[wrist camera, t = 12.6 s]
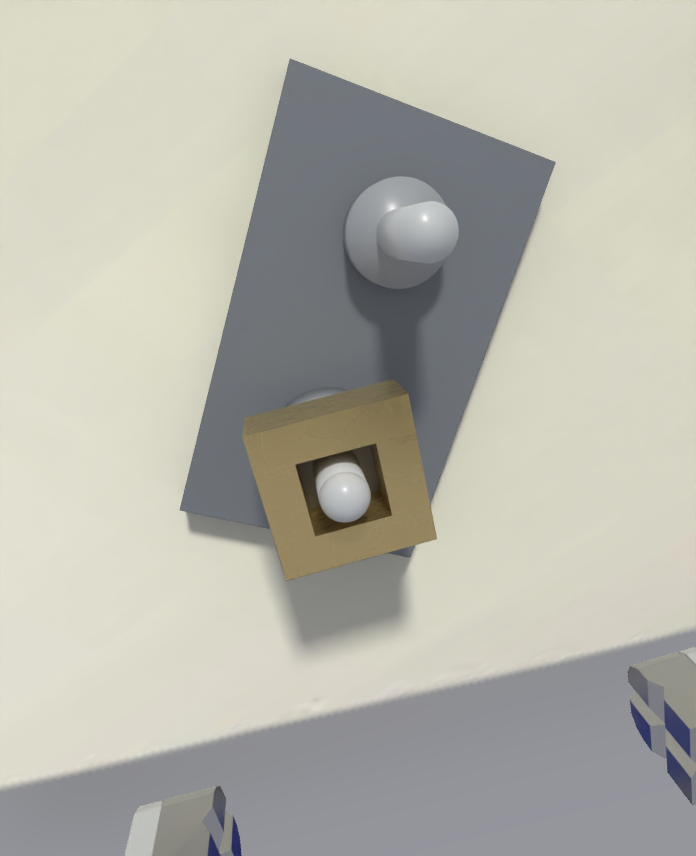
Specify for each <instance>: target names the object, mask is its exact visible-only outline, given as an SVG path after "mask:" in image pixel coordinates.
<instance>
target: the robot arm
mask: <svg viewBox="0 0 696 856" xmlns="http://www.w3.org/2000/svg"><path fill="white" fill-rule="evenodd" d="M628 682H629V683H630V685H631V686H632V687H633V688H634V690H635V692H634V694H633V695H632V697H631V699H630V705H631V713H632V716H633V719H634V722H635V724H636V727H637V729H638V731H639V732H640V735H641V736H642V738H643V740H644V741H645V742H646V744H647V745H648V747H649V748H650V749H651V751H653V752H654V753H656V754H658V755H660V756H662V757H664V758H666V759H667V770H668V773H669V775H670V776H671V777H672V779H673V780H674V782H675V783H676V784H677V785H678V787H679V788H680V789H681V791H682V792H683V793H684V795H685V796H686V797H687V799H688V800H689V801H690V803H691V804H692V805H695V804H696V647H693V648H690V649H686V650H683V651H680V652H678V653H672V654H669V655H665V656H662V657H659V658H655V659H652V660H649V661H645V662H642V663H639V664H636V665H632V666H630V667H629V670H628ZM225 807H226V797H225V795H224V793H223V791H222V789H221V787H220V786H215V787H212V788H208V789H204V790H200V791H196V792H192V793H188V794H185V795H180V796H177V797H173V798H169V799H166V800H163V801H159V802H155V803H152V804H148V805H144V806H140V807H139V808H138V810H137V812H136V813H135V815H134V817H133V822H132V826H131V830H130V834H129V838H128V843H127V847H126V851H125V855H124V856H241V844H240V836H239V832H238V828H237V824H236V822H235V819H234V817H233V815H231V814H229V813H228V812H226V811H225Z"/></svg>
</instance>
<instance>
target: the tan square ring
mask: <svg viewBox="0 0 696 856" xmlns="http://www.w3.org/2000/svg"><path fill="white" fill-rule="evenodd" d="M242 438H243V441H244V444H245V448H246V451H247V454H248V457H249V461H250V464H251V467H252V470H253V474H254V477H255V480H256V483H257V487H258V490H259V493H260V496H261V500H262V503H263V506H264V509H265V513H266V516H267V519H268V522H269V526H270V529H271V532H272V535H273V539H274V542H275V545H276V548H277V552H278V555H279V558H280V561H281V565H282V568H283V571H284V574H285V577H286V581H287V580H291V579H294V578H298V577H302V576H305V575H309V574H312V573H316V572H320V571H323V570H327V569H330V568H334V567H338V566H341V565H345V564H348V563H352V562H356V561H359V560H363V559H367V558H370V557H374V556H377V555H381V554H385V553H388V552H392V551H395V550H399V549H403V548H406V547H410V546H413V545H417V544H421V543H424V542H428V541H431V540H435V539H437V536H436V531H435V526H434V521H433V516H432V511H431V506H430V501H429V496H428V491H427V486H426V481H425V476H424V471H423V466H422V461H421V456H420V451H419V446H418V441H417V436H416V430H415V425H414V420H413V415H412V410H411V405H410V400H409V395H408V393H407V392H406V391H405V390H404V389H403V388H402V387H401V386H400V385H399V384H398V383H397V381H396V380H395V379H391V380H388V381H384V382H380V383H376V384H372V385H368V386H364V387H360V388H357V389H353V390H349V391H345V392H341V393H337V394H333V395H329V396H326V397H322V398H318V399H314V400H310V401H306V402H302V403H299V404H295V405H291V406H287V407H283V408H279V409H275V410H271V411H268V412H264V413H260V414H256V415H252V416H248V417H244V425H243V435H242ZM368 445H370V447H371V452H372V456H373V460H374V465H375V469H376V474H377V478H378V482H379V487H380V490H379V491H376V492H372V493H371V500H370V504H369V507H368V509H367V511H366V512H365V513H364V514H363V515H362V516H361V517H360V518H358V519H357V520H355V521H352V522H338V521H335V520H333V519H331V518H329V517H328V516H327V515H326V514H325V513H324V511H323V510H322V508H321V506H320V507H316V508H313V509H310V506H309V503H308V499H307V495H306V492H305V488H304V485H303V481H302V477H301V474H300V470H299V467H298V464H300V463H303V462H307V461H311V460H315V459H318V458H322V457H326V456H330V455H334V454H337V453H341V452H345V451H349V450H352V449H356V448H360V447H364V446H368Z"/></svg>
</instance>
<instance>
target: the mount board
mask: <svg viewBox="0 0 696 856" xmlns="http://www.w3.org/2000/svg"><path fill="white" fill-rule="evenodd" d="M555 163H556V162H554V161H551V160H549V159H546V158H544V157H541V156H539V155H536V154H533V153H531V152H528V151H526V150H523V149H521V148H518V147H516V146H513V145H510V144H508V143H505V142H503V141H500V140H498V139H495V138H492V137H490V136H487V135H485V134H482V133H480V132H477V131H475V130H472V129H469V128H467V127H464V126H462V125H459V124H457V123H454V122H451V121H449V120H446V119H444V118H441V117H439V116H436V115H434V114H431V113H428V112H426V111H423V110H421V109H418V108H416V107H413V106H410V105H408V104H405V103H403V102H400V101H398V100H395V99H393V98H390V97H387V96H385V95H382V94H380V93H377V92H375V91H372V90H369V89H367V88H364V87H362V86H359V85H357V84H354V83H351V82H349V81H346V80H344V79H341V78H339V77H336V76H334V75H331V74H328V73H326V72H323V71H321V70H318V69H316V68H313V67H310V66H308V65H305V64H303V63H300V62H298V61H295V60H293V59H290V60H289V64H288V68H287V72H286V77H285V81H284V85H283V89H282V93H281V97H280V101H279V105H278V109H277V113H276V117H275V122H274V126H273V130H272V134H271V138H270V142H269V146H268V150H267V154H266V158H265V163H264V167H263V171H262V175H261V179H260V183H259V187H258V191H257V195H256V199H255V203H254V208H253V212H252V216H251V220H250V224H249V228H248V232H247V236H246V240H245V244H244V249H243V253H242V257H241V261H240V265H239V269H238V273H237V277H236V281H235V285H234V289H233V294H232V298H231V302H230V306H229V310H228V314H227V318H226V322H225V326H224V330H223V335H222V339H221V343H220V347H219V351H218V355H217V359H216V363H215V367H214V371H213V375H212V380H211V384H210V388H209V392H208V396H207V400H206V404H205V408H204V412H203V416H202V421H201V425H200V429H199V433H198V437H197V441H196V445H195V449H194V453H193V457H192V461H191V466H190V470H189V474H188V478H187V482H186V486H185V490H184V494H183V498H182V502H181V507H180V510H181V511H186V512H191V513H196V514H200V515H205V516H210V517H215V518H220V519H225V520H230V521H235V522H239V523H244V524H249V525H254V526H259V527H264V528H269V529H270V526H269V522H268V519H267V516H266V513H265V509H264V506H263V503H262V500H261V496H260V493H259V490H258V487H257V483H256V480H255V477H254V474H253V470H252V467H251V464H250V461H249V457H248V454H247V451H246V448H245V444H244V441H243V438H242V435H243V425H244V417H248V416H252V415H256V414H260V413H264V412H268V411H271V410H275V409H279V408H283V407H287V406H291V405H295V404H299V403H302V402H306V401H310V400H314V399H318V398H322V397H326V396H329V395H333V394H337V393H341V392H345V391H349V390H353V389H357V388H360V387H364V386H368V385H372V384H376V383H380V382H384V381H388V380H391V379H395V380H396V381H397V383H398V384H399V385H400V386H401V387H402V388H403V389H404V390H405V391H406V392H407V393H408V395H409V400H410V405H411V410H412V415H413V420H414V425H415V430H416V436H417V441H418V446H419V451H420V456H421V461H422V466H423V471H424V476H425V481H426V486H427V491H428V496H429V501H430V502H431V499H432V496H433V494H434V491H435V488H436V486H437V483H438V480H439V477H440V475H441V472H442V469H443V467H444V464H445V461H446V458H447V456H448V453H449V450H450V448H451V445H452V442H453V439H454V437H455V434H456V431H457V429H458V426H459V423H460V420H461V418H462V415H463V412H464V410H465V407H466V404H467V402H468V399H469V396H470V393H471V391H472V388H473V385H474V383H475V380H476V377H477V374H478V372H479V369H480V366H481V364H482V361H483V358H484V355H485V353H486V350H487V347H488V345H489V342H490V339H491V336H492V334H493V331H494V328H495V326H496V323H497V320H498V317H499V315H500V312H501V309H502V307H503V304H504V301H505V298H506V296H507V293H508V290H509V288H510V285H511V282H512V279H513V277H514V274H515V271H516V269H517V266H518V263H519V260H520V258H521V255H522V252H523V250H524V247H525V244H526V241H527V239H528V236H529V233H530V231H531V228H532V225H533V222H534V220H535V217H536V214H537V212H538V209H539V206H540V203H541V201H542V198H543V195H544V193H545V190H546V187H547V184H548V182H549V179H550V176H551V174H552V171H553V168H554V165H555ZM298 467H299V470H300V474H301V477H302V481H303V485H304V488H305V492H306V495H307V499H308V503H309V506H310V509H313V508H316V507H320V506H321V508H322V510H323V511H324V513H325V514H326V515H327V516H328V517H329V518H331V519H333V520H335V521H338V522H352V521H355V520H357V519H358V518H360V517H361V516H362V515H363V514H364V513H365V512H366V511H367V509H368V507H369V504H370V500H371V493H372V492H376V491H379V490H380V487H379V482H378V478H377V474H376V469H375V465H374V460H373V456H372V452H371V447H370V445H368V446H364V447H360V448H356V449H352V450H349V451H345V452H341V453H337V454H334V455H330V456H326V457H322V458H318V459H315V460H311V461H307V462H303V463H300V464H298ZM413 548H414V545H413V546H410V547H406V548H403V549H399V550H395V551H392V552H388V553H390V554H395V555H400V556H405V557H410V556H411V553H412V551H413Z"/></svg>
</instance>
